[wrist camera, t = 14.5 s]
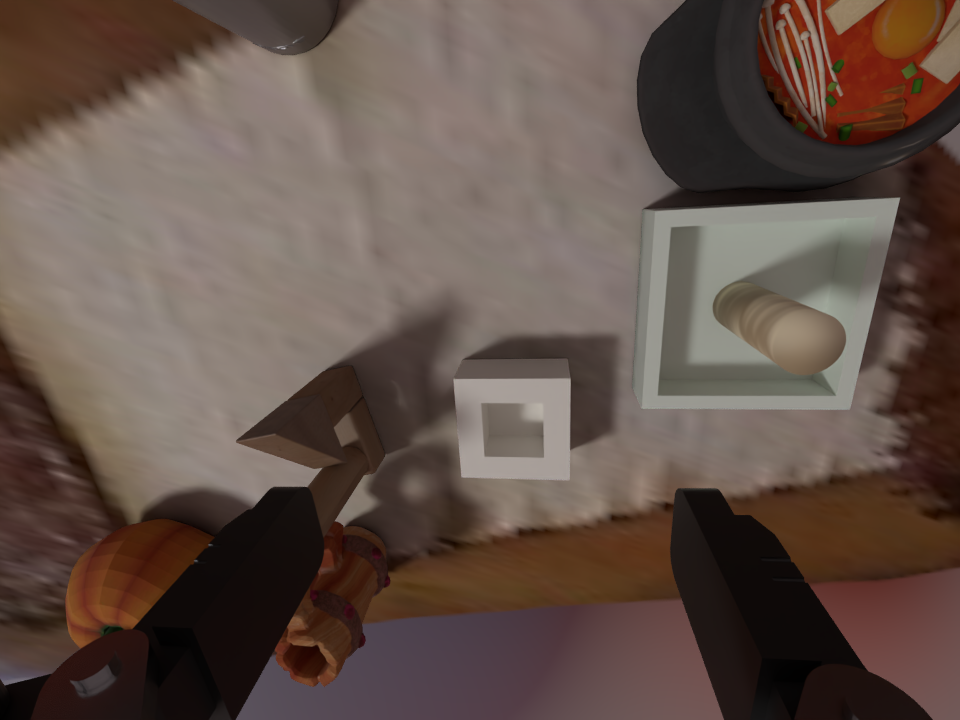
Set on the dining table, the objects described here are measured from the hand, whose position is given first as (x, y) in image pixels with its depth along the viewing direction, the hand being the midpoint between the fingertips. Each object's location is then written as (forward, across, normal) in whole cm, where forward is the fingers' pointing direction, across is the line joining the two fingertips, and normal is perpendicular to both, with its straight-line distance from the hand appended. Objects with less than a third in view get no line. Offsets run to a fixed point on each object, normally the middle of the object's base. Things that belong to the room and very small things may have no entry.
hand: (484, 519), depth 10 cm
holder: (+32, +1, +14) cm, 35 cm away
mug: (+32, +21, +29) cm, 48 cm away
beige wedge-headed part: (+33, +18, +14) cm, 40 cm away
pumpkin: (+33, +45, +36) cm, 66 cm away
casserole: (+33, -21, -14) cm, 42 cm away
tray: (+32, -18, +4) cm, 37 cm away
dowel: (+31, -18, +4) cm, 36 cm away
